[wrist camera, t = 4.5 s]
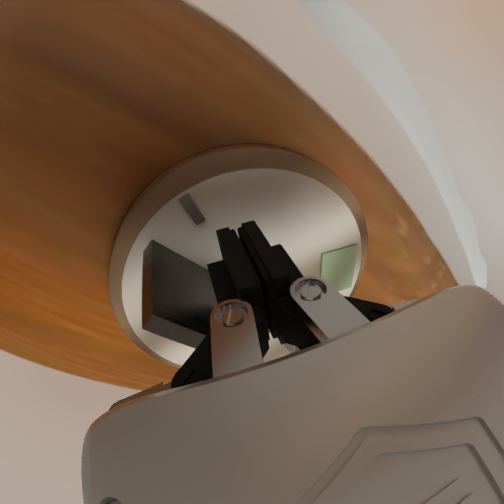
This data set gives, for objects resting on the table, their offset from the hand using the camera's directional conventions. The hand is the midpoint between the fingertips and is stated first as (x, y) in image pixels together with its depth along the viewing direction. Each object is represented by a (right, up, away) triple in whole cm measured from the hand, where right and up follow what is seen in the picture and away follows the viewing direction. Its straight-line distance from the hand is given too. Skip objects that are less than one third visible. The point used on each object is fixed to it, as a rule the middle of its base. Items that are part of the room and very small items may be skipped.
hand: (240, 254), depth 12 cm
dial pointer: (+1, -3, +5) cm, 5 cm away
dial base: (0, -1, +7) cm, 7 cm away
